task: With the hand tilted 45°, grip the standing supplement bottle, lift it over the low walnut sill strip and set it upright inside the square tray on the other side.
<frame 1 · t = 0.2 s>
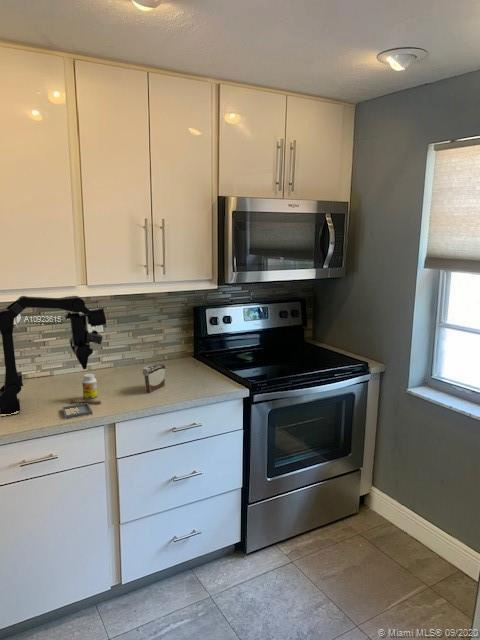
hand: (83, 366, 186), 15 cm above the countertop, tool pointing down, fingers open, 9 cm apart
supplement bottle: (90, 399, 191), on the countertop
square tray: (77, 412, 178), on the countertop
food container: (152, 389, 203), on the countertop
sill strip: (85, 403, 186), on the countertop
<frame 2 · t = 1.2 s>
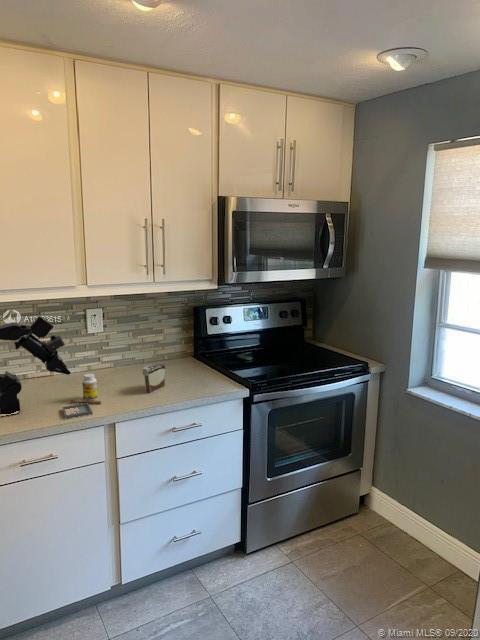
hand: (67, 370, 185), 13 cm above the countertop, tool tilted 45°, fingers open, 9 cm apart
nothing on the countertop moved.
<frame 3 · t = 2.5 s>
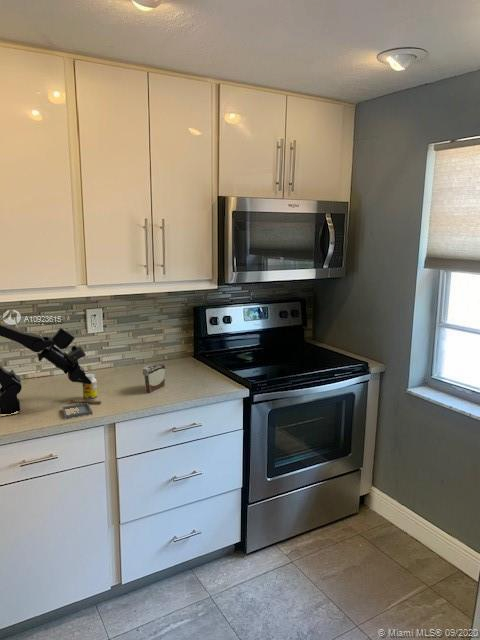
hand: (88, 379, 189), 8 cm above the countertop, tool tilted 45°, fingers open, 9 cm apart
nothing on the countertop moved.
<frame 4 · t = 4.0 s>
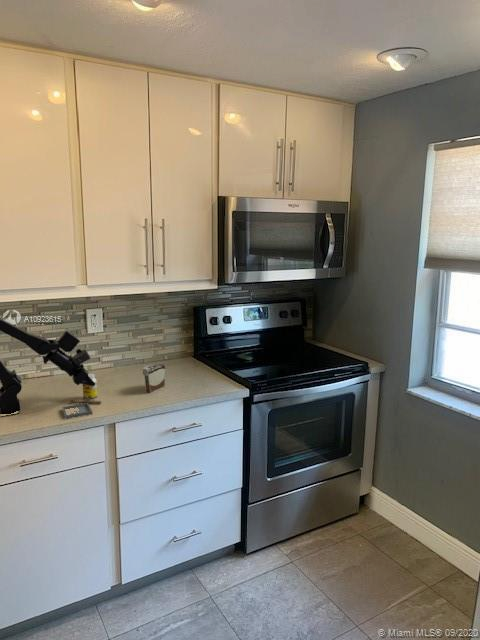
hand: (93, 382, 191), 7 cm above the countertop, tool tilted 45°, fingers closed on supplement bottle, 5 cm apart
supplement bottle: (90, 399, 191), on the countertop, touching gripper
everything else where it was.
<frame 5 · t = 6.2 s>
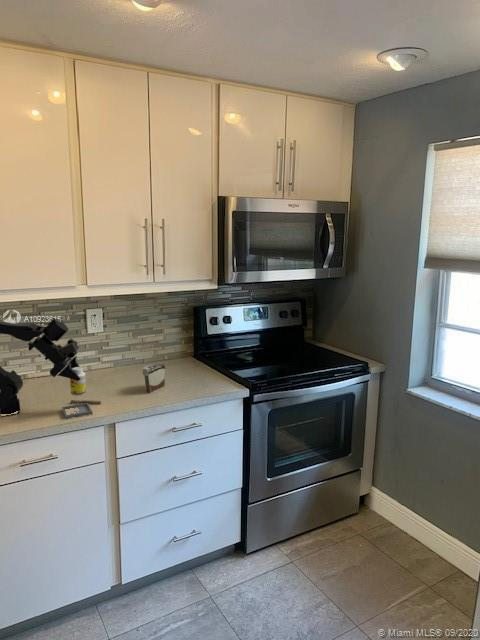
hand: (81, 377, 177), 13 cm above the countertop, tool tilted 45°, fingers closed on supplement bottle, 5 cm apart
supplement bottle: (78, 394, 178), point 6 cm above the countertop, touching gripper
everything else where it was.
when the fingers open (8 cm above the countertop, at t = 8.6 s): supplement bottle stays where it is, resting on square tray.
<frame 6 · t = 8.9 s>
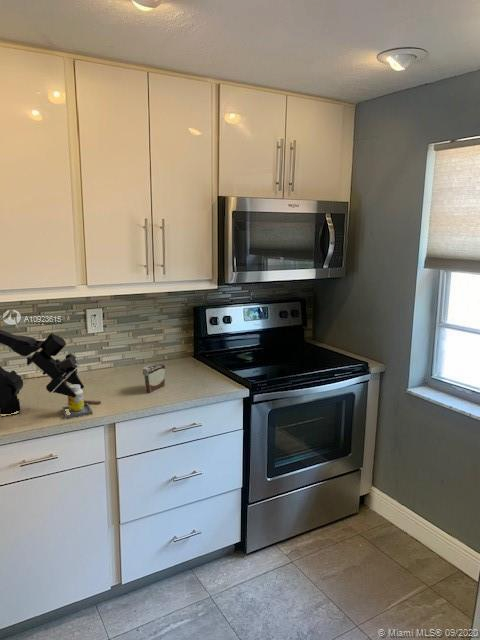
hand: (79, 392, 176), 8 cm above the countertop, tool tilted 45°, fingers open, 9 cm apart
supplement bottle: (76, 411, 178), resting on square tray
everything else where it was.
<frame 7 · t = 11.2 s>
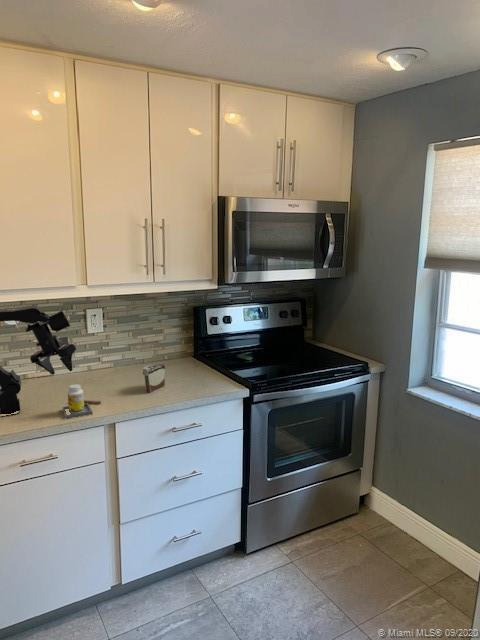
hand: (62, 372, 182), 14 cm above the countertop, tool tilted 20°, fingers open, 9 cm apart
nothing on the countertop moved.
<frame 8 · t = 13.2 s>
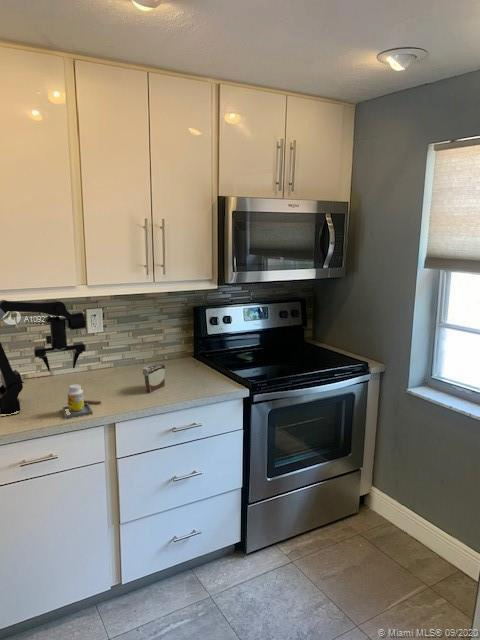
hand: (61, 369, 187), 13 cm above the countertop, tool pointing down, fingers open, 9 cm apart
nothing on the countertop moved.
at the end: supplement bottle 0.2 cm off-centre on the square tray, point 0.1 cm above the square tray's base; supplement bottle tilted 0°; the gripper is holding nothing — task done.
